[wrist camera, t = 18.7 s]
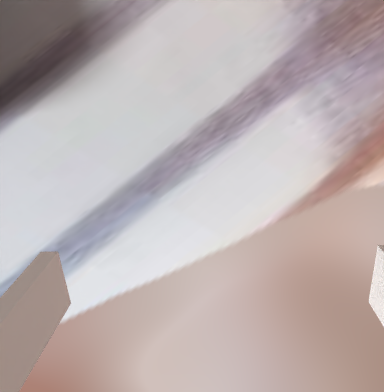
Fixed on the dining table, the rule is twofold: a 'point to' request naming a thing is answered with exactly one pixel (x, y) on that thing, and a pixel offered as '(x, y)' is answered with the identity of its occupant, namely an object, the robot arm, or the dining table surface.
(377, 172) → the dining table surface
